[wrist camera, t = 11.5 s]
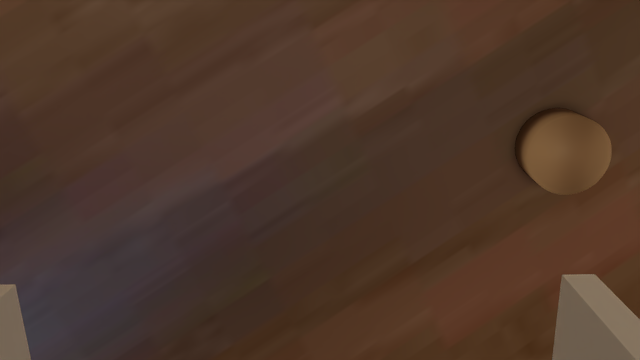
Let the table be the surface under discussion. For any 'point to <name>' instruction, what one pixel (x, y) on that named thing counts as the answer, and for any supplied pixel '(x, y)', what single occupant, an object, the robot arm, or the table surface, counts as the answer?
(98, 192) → the table surface
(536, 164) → the brown short cylinder
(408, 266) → the table surface
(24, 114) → the table surface
